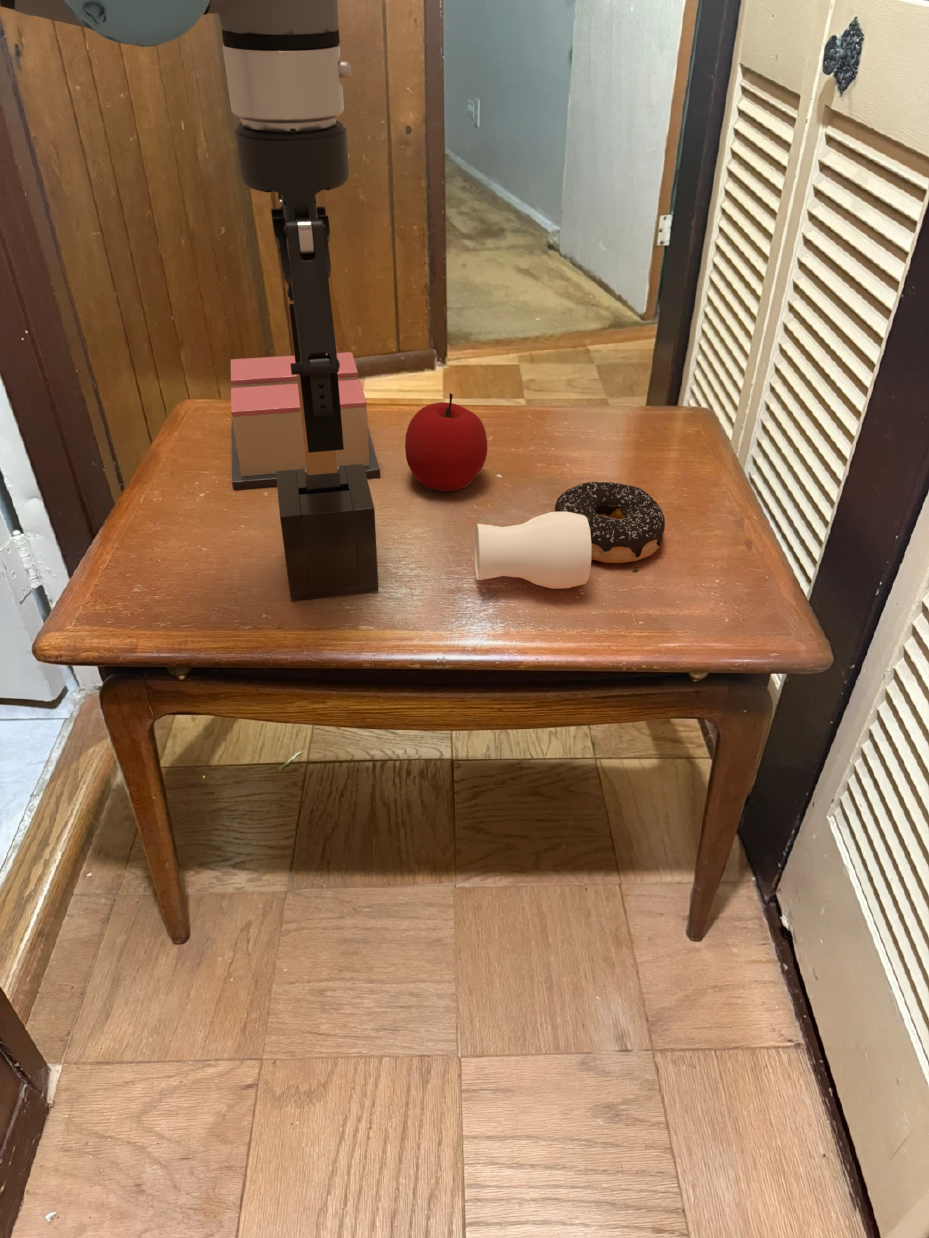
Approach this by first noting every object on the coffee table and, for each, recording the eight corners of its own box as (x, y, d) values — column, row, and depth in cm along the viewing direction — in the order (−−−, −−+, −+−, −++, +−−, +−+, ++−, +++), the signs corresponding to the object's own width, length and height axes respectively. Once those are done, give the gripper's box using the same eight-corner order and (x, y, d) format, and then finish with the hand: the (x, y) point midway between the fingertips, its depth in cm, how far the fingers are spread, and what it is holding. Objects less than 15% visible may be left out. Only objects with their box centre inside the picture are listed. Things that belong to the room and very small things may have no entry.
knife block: (291, 601, 78) (279, 516, 73) (286, 552, 84) (275, 470, 79) (378, 591, 80) (374, 508, 74) (368, 544, 86) (363, 463, 80)
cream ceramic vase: (478, 606, 78) (586, 603, 79) (480, 541, 74) (596, 538, 75) (472, 561, 84) (573, 559, 85) (474, 498, 80) (581, 496, 80)
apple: (390, 472, 97) (387, 388, 91) (460, 454, 101) (462, 372, 95) (428, 510, 91) (428, 423, 85) (501, 490, 95) (506, 405, 88)
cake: (233, 490, 93) (220, 416, 88) (232, 424, 106) (221, 356, 100) (380, 477, 96) (377, 405, 91) (363, 415, 108) (359, 348, 103)
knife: (315, 570, 81) (294, 375, 69) (313, 558, 82) (293, 366, 70) (347, 567, 81) (332, 373, 69) (345, 555, 83) (330, 363, 71)
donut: (629, 500, 94) (634, 467, 91) (684, 560, 85) (691, 525, 82) (534, 515, 91) (537, 482, 88) (581, 579, 82) (586, 544, 80)
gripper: (368, 157, 50) (384, 480, 63) (329, 91, 69) (347, 350, 82) (234, 161, 49) (280, 490, 62) (232, 93, 67) (267, 356, 81)
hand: (318, 411), depth 72 cm, fingers open, 13 cm apart
